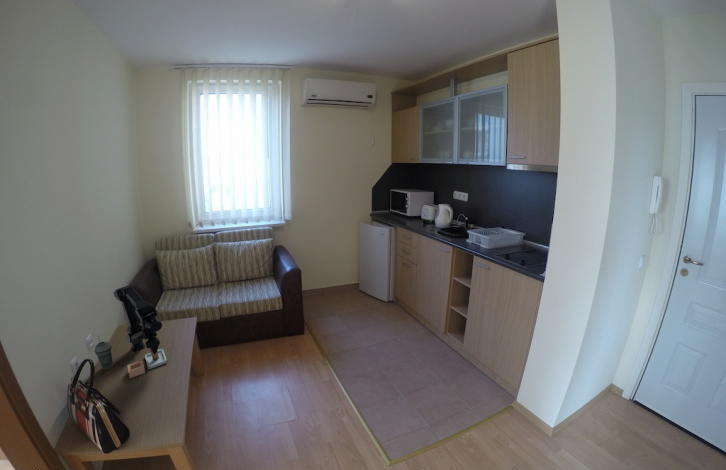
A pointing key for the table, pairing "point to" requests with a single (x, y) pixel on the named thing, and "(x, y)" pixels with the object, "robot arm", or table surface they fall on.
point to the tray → (158, 362)
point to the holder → (136, 369)
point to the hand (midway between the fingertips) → (153, 350)
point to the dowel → (154, 355)
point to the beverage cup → (104, 354)
